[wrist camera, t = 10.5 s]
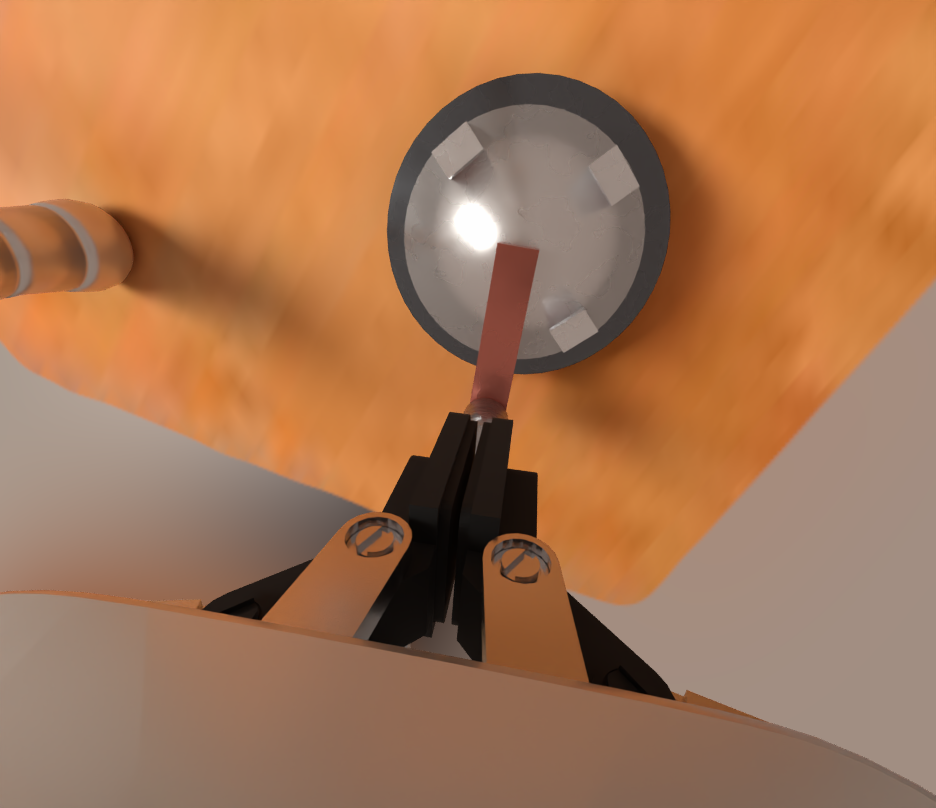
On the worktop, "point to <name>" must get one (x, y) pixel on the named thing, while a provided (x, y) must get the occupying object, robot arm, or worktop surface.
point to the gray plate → (592, 109)
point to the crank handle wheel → (522, 239)
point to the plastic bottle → (61, 249)
